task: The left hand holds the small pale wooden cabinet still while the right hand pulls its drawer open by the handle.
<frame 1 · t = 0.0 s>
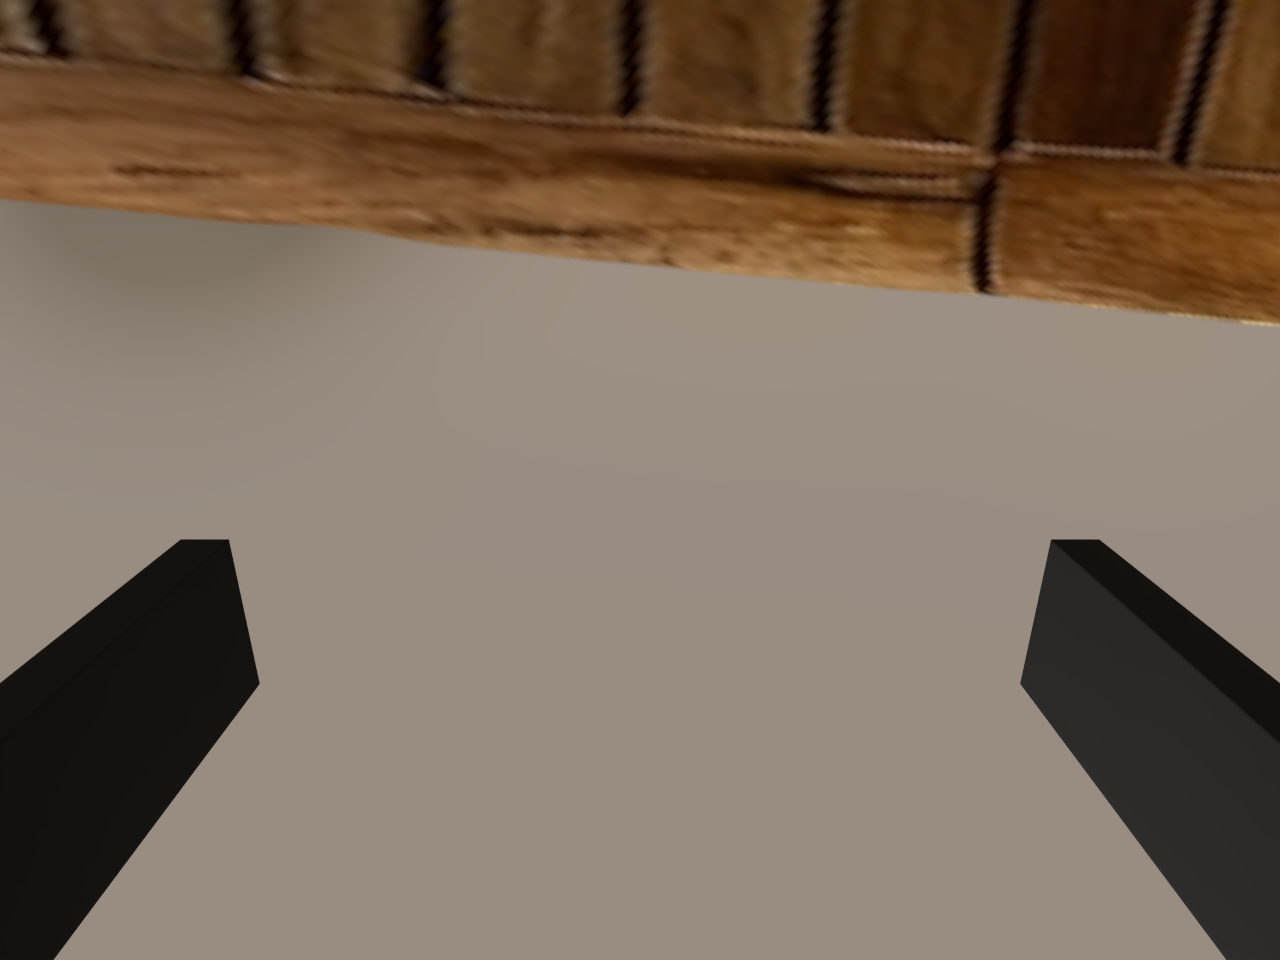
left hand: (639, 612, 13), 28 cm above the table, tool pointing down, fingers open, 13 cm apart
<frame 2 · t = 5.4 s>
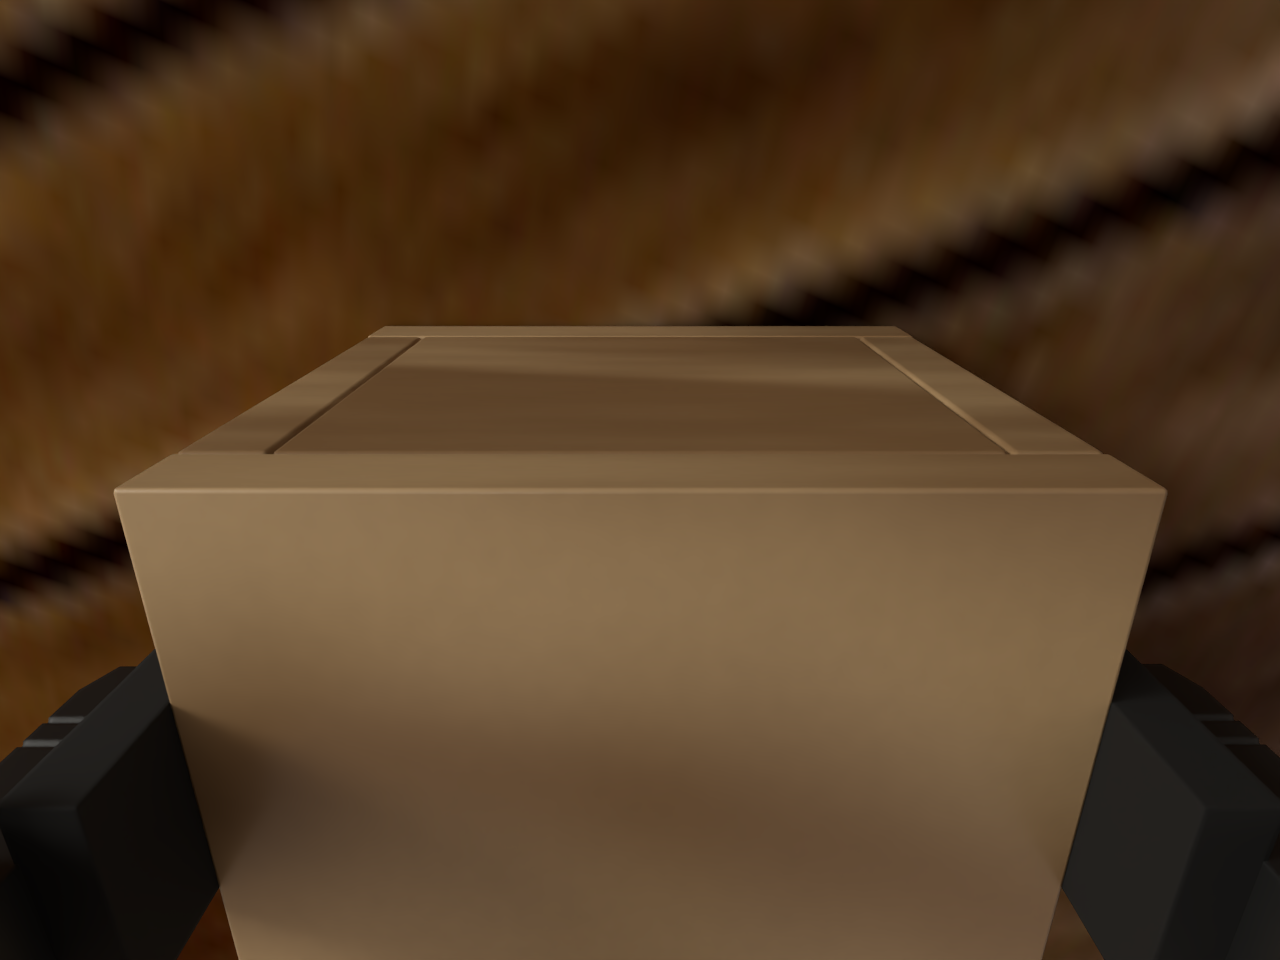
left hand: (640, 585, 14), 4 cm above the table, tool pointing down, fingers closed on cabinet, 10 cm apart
cabinet: (640, 760, 19), on the table, touching left hand
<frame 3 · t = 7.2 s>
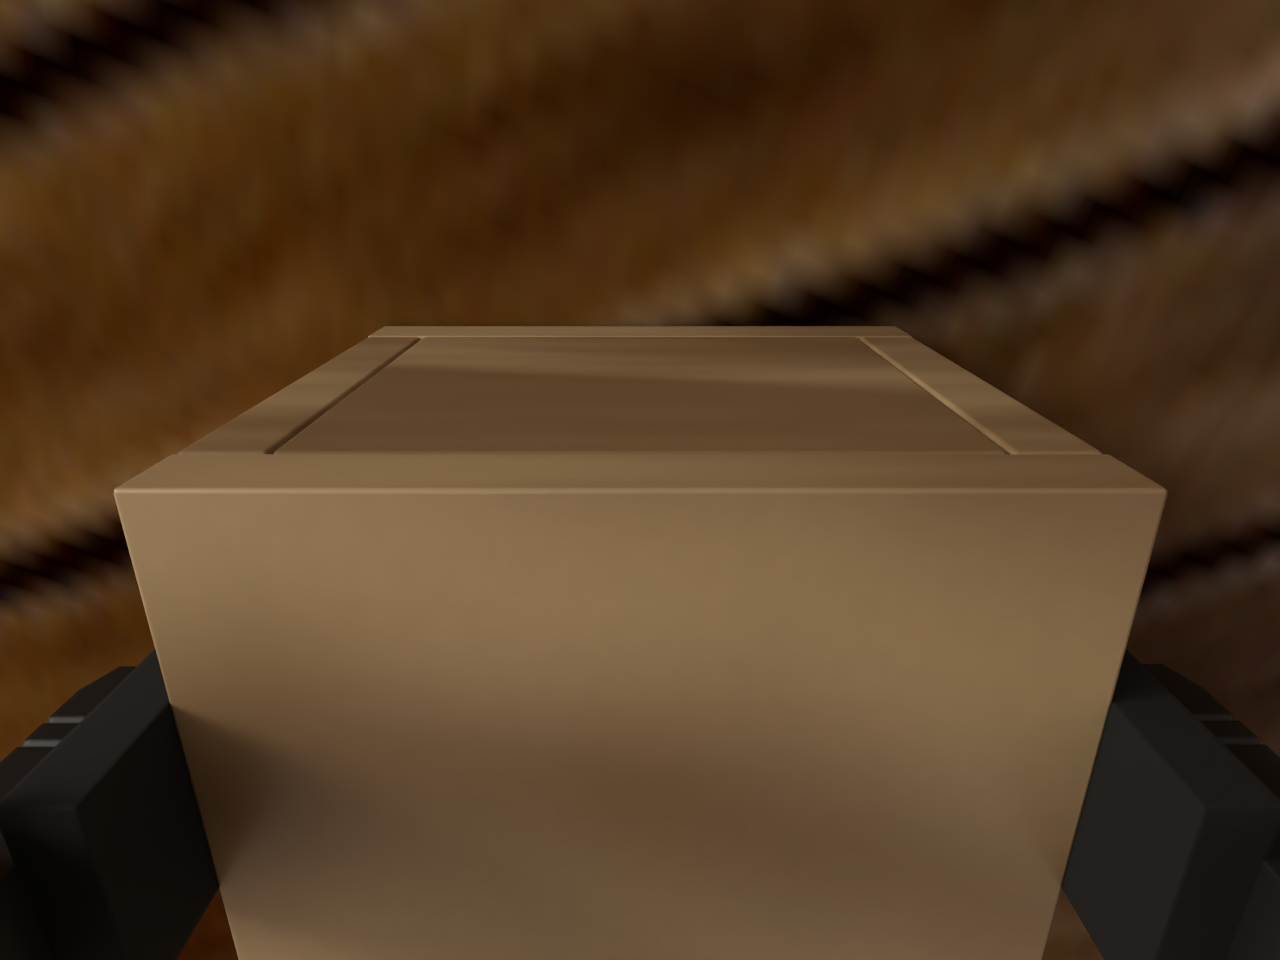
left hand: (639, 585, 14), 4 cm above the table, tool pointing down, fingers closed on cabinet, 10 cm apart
cabinet: (640, 760, 19), on the table, touching left hand
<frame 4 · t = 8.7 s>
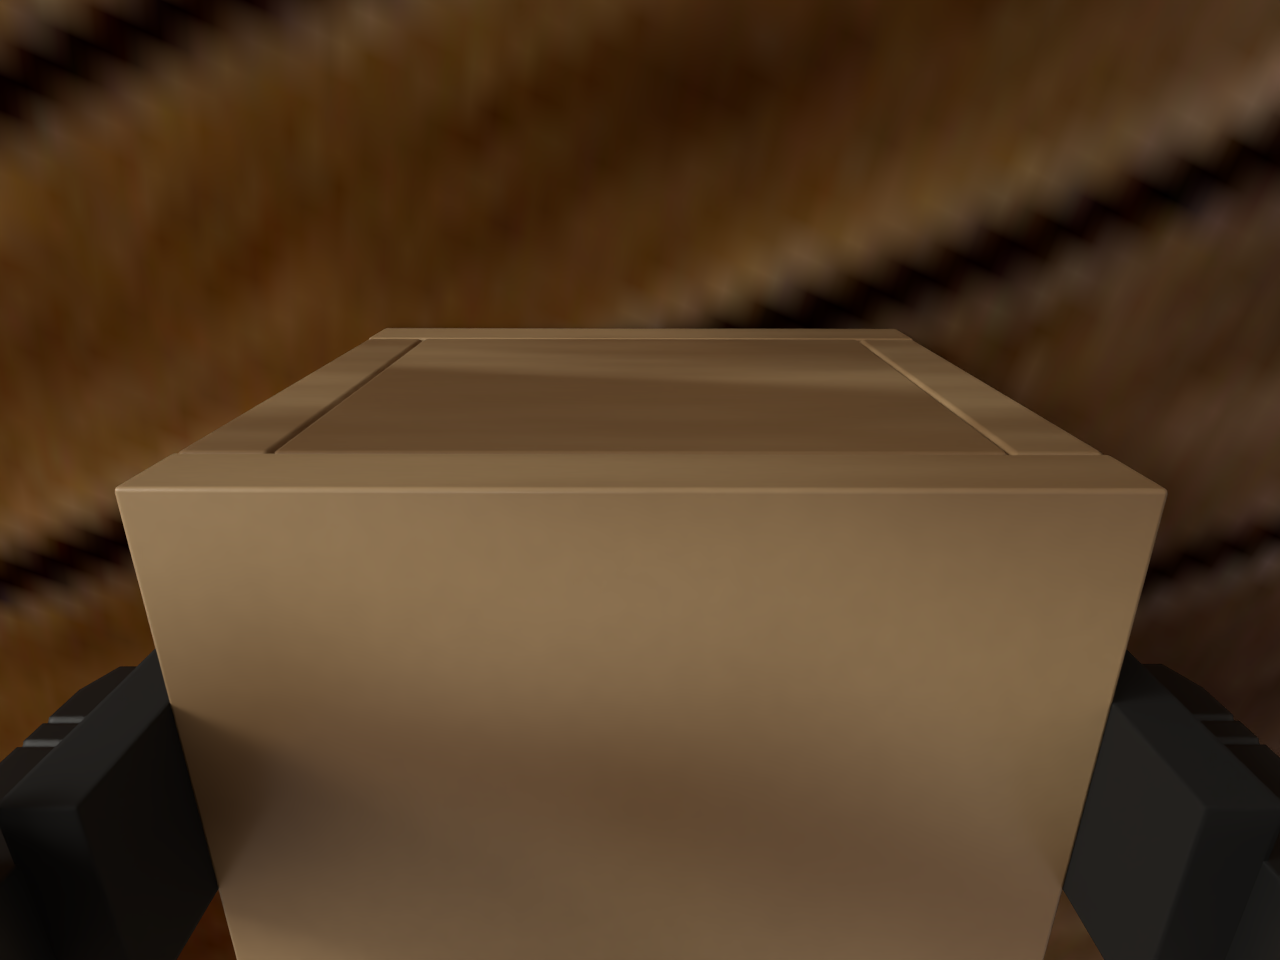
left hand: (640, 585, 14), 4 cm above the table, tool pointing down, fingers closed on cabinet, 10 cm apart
cabinet: (640, 764, 19), on the table, touching left hand
when the left hand's fingers open (4 cm above the table, at t = 9.8 s): cabinet stays where it is, on the table.
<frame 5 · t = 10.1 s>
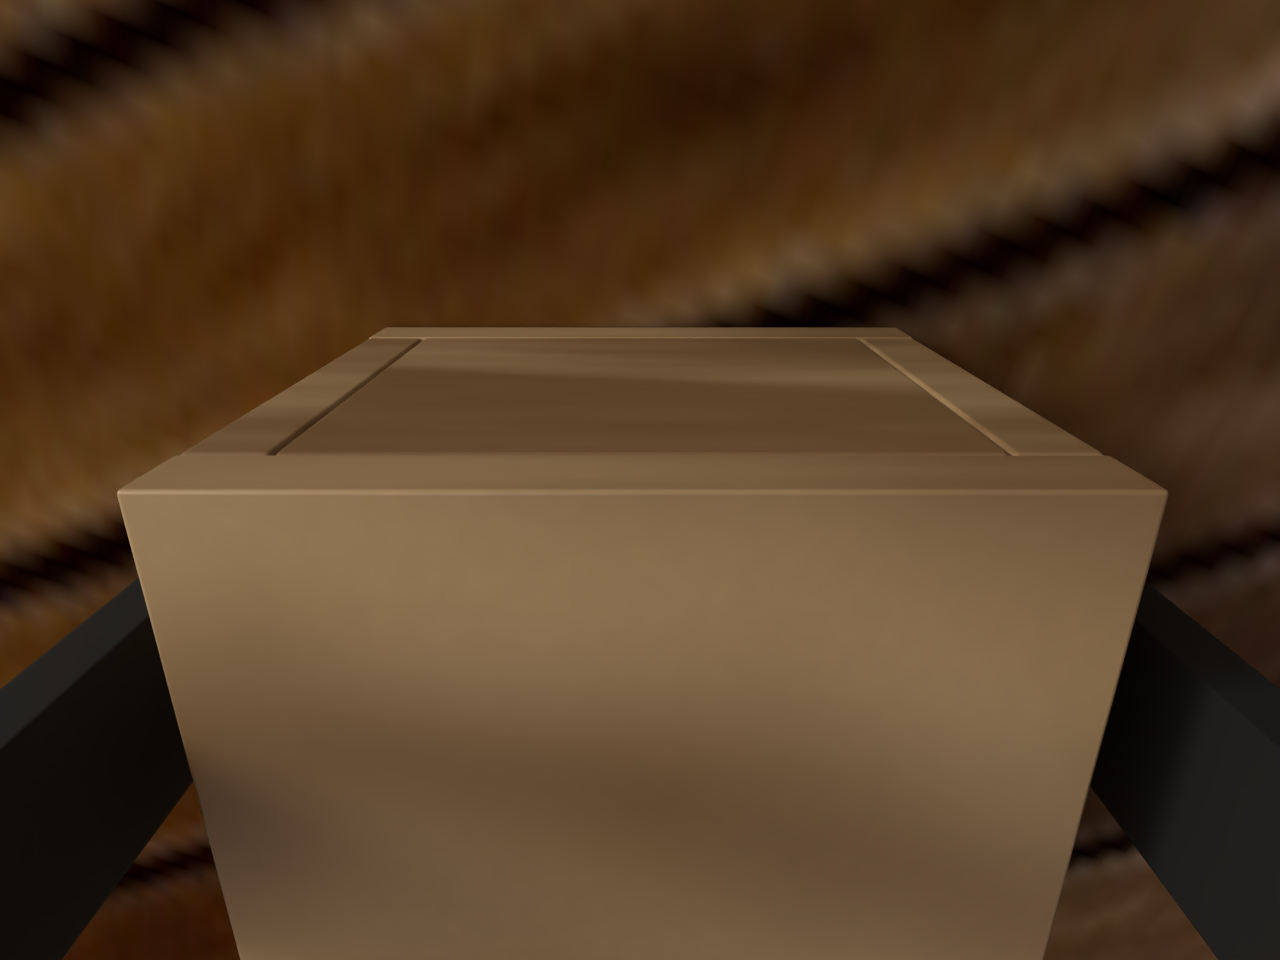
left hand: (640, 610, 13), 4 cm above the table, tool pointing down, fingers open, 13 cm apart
cabinet: (640, 761, 19), on the table
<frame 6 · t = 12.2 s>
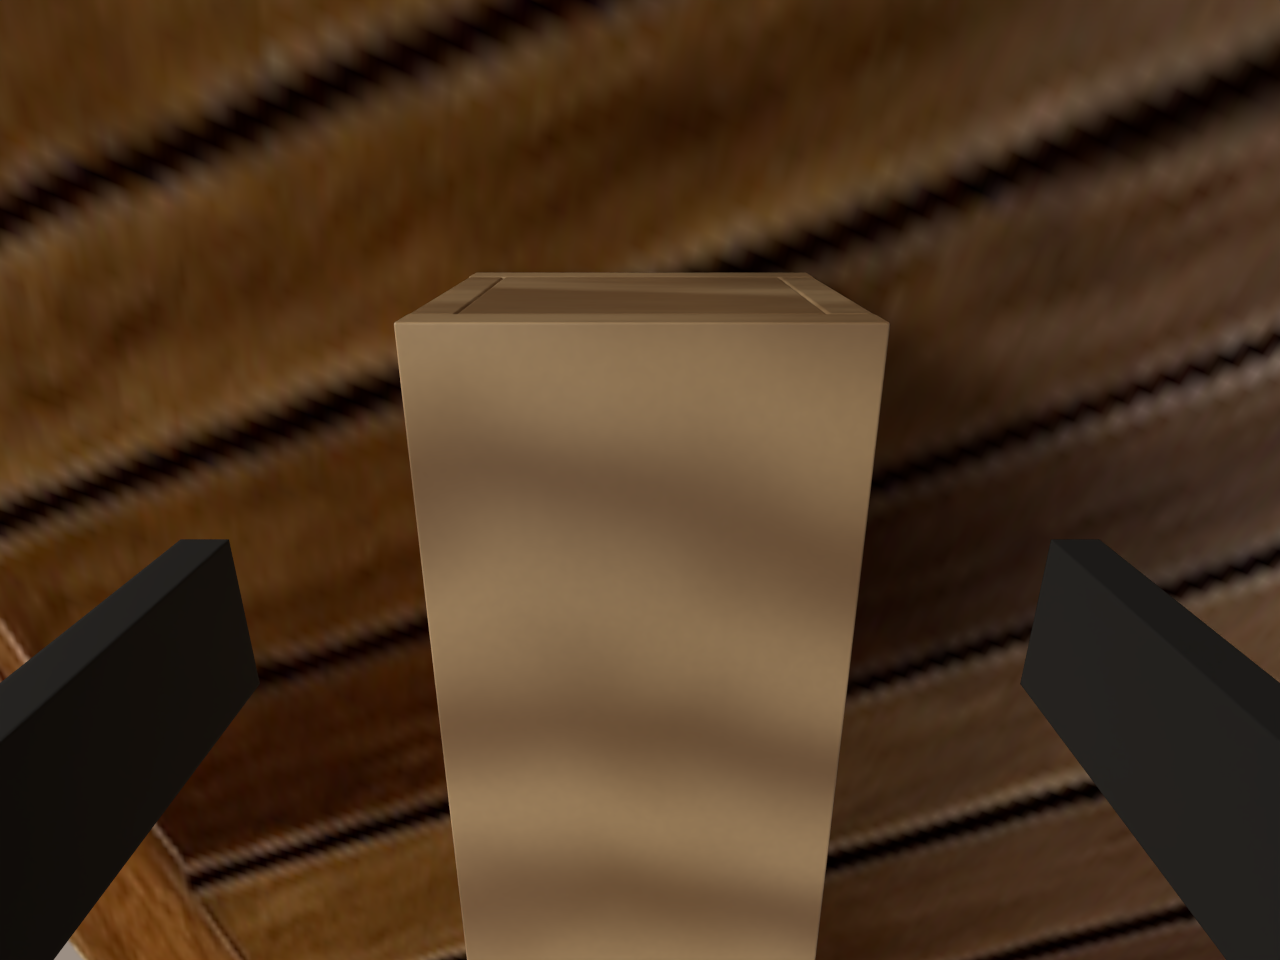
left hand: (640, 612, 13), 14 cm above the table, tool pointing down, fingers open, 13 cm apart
cabinet: (640, 583, 28), on the table
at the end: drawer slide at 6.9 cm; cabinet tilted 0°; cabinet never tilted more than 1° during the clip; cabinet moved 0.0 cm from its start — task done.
